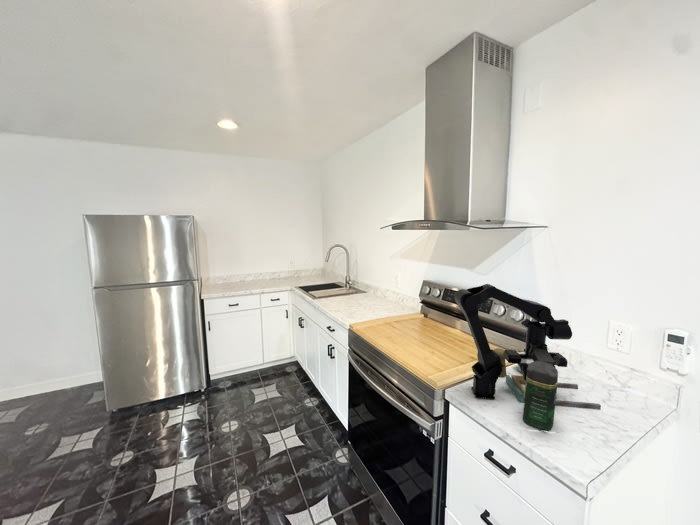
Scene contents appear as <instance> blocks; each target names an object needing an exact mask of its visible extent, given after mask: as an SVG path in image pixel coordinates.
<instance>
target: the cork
mask: <svg viewBox="0 0 700 525" xmlns="http://www.w3.org/2000/svg"><path fill="white" fill-rule="evenodd" d="M493 350H494V351H495V352H496V353H497V354H498V355H499V356H500V359H501V363H502V365H503V366H504V367H502V370H503V371H502V373H501V375H500V376H499V377H498V378H506V375H507V366H506V365H507V364H506V359H505V358H504V356H503V352H504V351H505V350H506V349H504V348H499V347H498V348H493Z"/></svg>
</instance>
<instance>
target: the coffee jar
mask: <svg viewBox="0 0 700 525" xmlns="http://www.w3.org/2000/svg"><path fill="white" fill-rule="evenodd" d="M554 366H555V365H554ZM554 366H553V365H552V364H549V363H546V362H542V361H535V362H532V363H530V364H529V365H528V368H527V375H526V387H525V400H524V403H523V411H522V421H523V422H524V423H525V424H526V425H528V427H532V428H534V429H536V430H538V431H542V432H550V431H552V429H553V427H554V422H555V409H556V406H555V404H556V400H557V393H558V388H557V383H559V382H558V381H559V380H558V378H559V371H558V369H557V368H556V367H554Z"/></svg>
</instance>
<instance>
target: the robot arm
mask: <svg viewBox="0 0 700 525" xmlns="http://www.w3.org/2000/svg"><path fill="white" fill-rule="evenodd" d="M453 297H454V301H455V302H456V305H457V306H458V307H459V309H460V311H461V312H462V314H463V315H464V318H465V320H466V322H467V325H468V327H469V331H470V333H471V336H472V338H473V341H474V344H475V346H476V349H477V354H476V355H477V362H475V363H474V364H473V365H472V366H471V370H472V373H474V374H473V380H472V381H473V383H472V384H473V385H472V386H471V391H472V393H473V394H474V397H475V398H476V399H485V400H495V399H496V396H495V395H496V387H497V386H496V384H497V381H498V379H499V378H500V377H499V376H500V375H501V373H502V371H503V370H502V367H504V366H503V365H502V363H501V359H500V356H499V355H498V354H497V353H496V352H495V351H494V348H492V349H491V347H490V344H489V341H488V338H487V335H486V333H485V332H486V331H485V330H484V327H483V324H482V322H481V319H480V316H479V310H480V309H479V305H481V304H483V303H484V302H486V301H488V300H489V299H494V300H497V301H499V302H501V303H503V304H506V305H508V306H511V307H513V308H515V309H518V310H519V311H520V312H521V313H523V314H525V315H526V316H528V317H530V318H531V319H534V320H531V319H528V318H526V319H524V320H523V321H521V322H520V325H522V326H523V327H525V328H526V337H524V342H525V348H523V352H525V354H519V353H520V352H518V351H517V350H516V349H504V350H505V351H504V352H503V356H504V358H505V361H507V363H510V364H517V366H518V365H519V366H520V369H521V372H522V373H521V372H520V373H521V375H523V378H524V380H525V381H526V375H527V367H528V364H527V363H526V361H527V360H533V361H534V362H535V361H542V362H546V363H549V364H552V365H553V366H554V367H555V368H556V367H561V368H562V367H564V368H567V367H568V364H569V363H568V359H567V358H566V357H565V356H563V355H562V354H561V353H559V352H554V351H553V352H552V351H551V352H550V351H549V350H548V345H547V343H546V339H547V338H548V339H549V340H561V341H562V340H567V341H569V340H571V338H572V337H573V332H572V328H571V326H570V324H569V320H567V319H555V318H554V317H553V316H552V310H551V308H550V307H548V306H547V305H545V304H541V303H539V302H536V301H533V300H529V299H525V298H524V299H523V298H520V297H517V296H516V295H513V294H511V293H509V292H506V291H504V290H502V289H499V288H497V287H496V286H494V285H492V284H490V283H484V284H482V285H479V286H473V287H470V288H467V289H463V288H462V289H459V290H458V291H456V293H455V294H454V296H453Z"/></svg>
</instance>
